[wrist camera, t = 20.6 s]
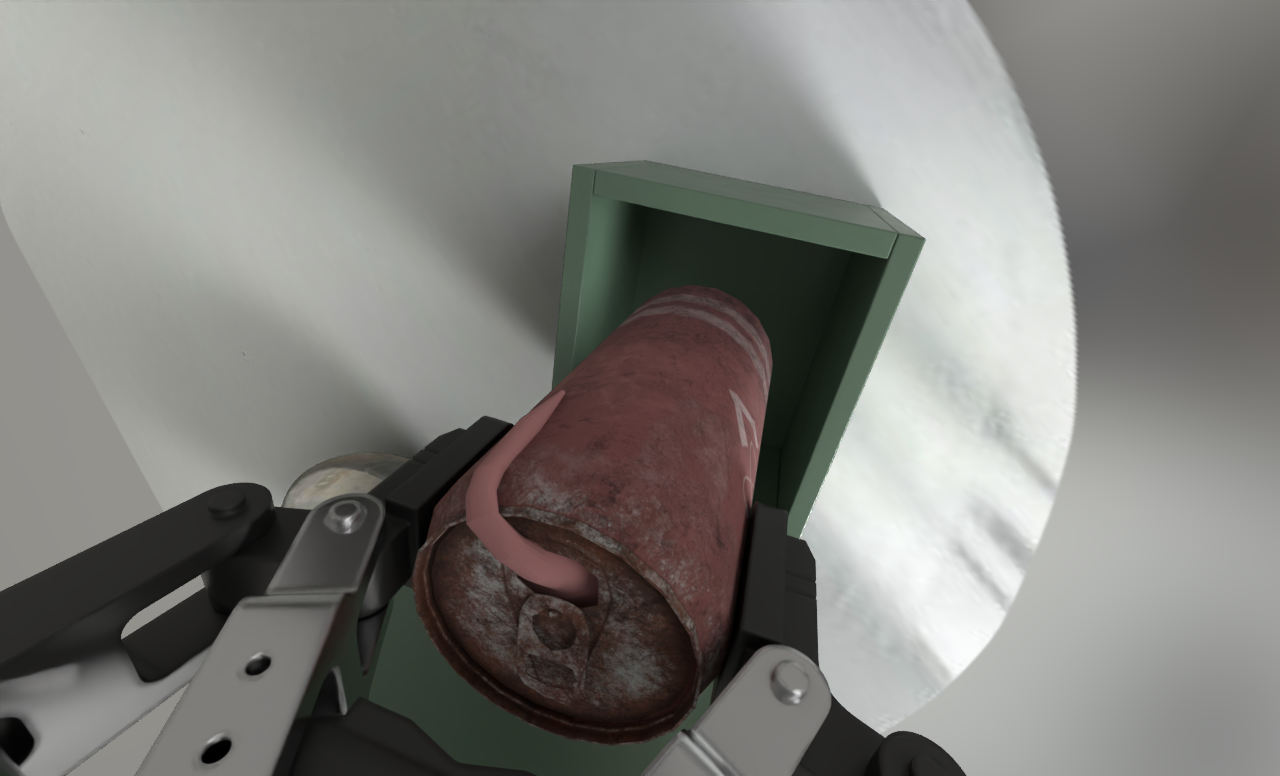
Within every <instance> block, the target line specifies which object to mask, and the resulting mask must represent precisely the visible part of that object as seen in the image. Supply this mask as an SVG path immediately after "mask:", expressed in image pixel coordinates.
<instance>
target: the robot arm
mask: <svg viewBox="0 0 1280 776" xmlns="http://www.w3.org/2000/svg"><path fill="white" fill-rule="evenodd" d="M513 427H514V425H513V424H511V423H508V422H505V421H501V420H498V419H495V418H492V417H489V416H483V417H481V418H480V419H479V420H478V421H476V422H475V423H474V424H473V425H472V426H470V427H469V428H468V429H467V430H464V429H461V428H459V429H456V430H454V431H451V432H448V433H446V434H443V435H441V436H439V437H438V438H436V439H435V440H434V441H433V442H431V443H430V444H429V445H427V446H426V447H425V449H424V450H421V451H420V452H419V453H417V454H416V455H415V456H414V457H413V459H412V460H408V461H407V462H406V463H405V464H403V465H402V466H401V467H400V468H398V469H397V470H396V471H395V472H393V473H392V474H391V475H390V476H388V477H387V478H386V479H384V480H383V481H382V482H381V483H379V484H378V485H377V486H376V487H374V488H373V489H372V490H371V491H369V492H368V493H367V494H363V493H349V494H343V495H339V496H335V497H332V498H330V499H328V500H325V501H324V502H322V503H320V504H319V505H317V506H316V507H315V508H314V509H313V510H310V509H297V508H284V507H274V504H273V500H272V496H271V493H270V491H269V490H268V489H267V488H265V487H264V486H262V485H259V484H255V483H233V484H228V485H223V486H219V487H216V488H213V489H211V490H208V491H206V492H204V493H202V494H200V495H198V496H196V497H194V498H192V499H190V500H187V501H185V502H183V503H181V504H179V505H177V506H175V507H173V508H171V509H169V510H167V511H165V512H163V513H161V514H159V515H157V516H155V517H153V518H151V519H148V520H146V521H144V522H143V523H140V524H138V525H136V526H134V527H132V528H130V529H128V530H126V531H124V532H122V533H120V534H118V535H116V536H114V537H112V538H110V539H107V540H106V541H103V542H101V543H99V544H97V545H96V546H93V547H91V548H89V549H87V550H85V551H83V552H81V553H79V554H77V555H75V556H73V557H71V558H68V559H66V560H65V561H63V562H60V563H58V564H56V565H54V566H52V567H50V568H48V569H46V570H44V571H42V572H40V573H38V574H36V575H34V576H32V577H30V578H27V579H25V580H23V581H21V582H19V583H17V584H15V585H13V586H11V587H9V588H7V589H5V590H3V591H1V592H0V776H66V775H67V774H68V773H70V772H71V771H72V770H74V769H75V768H76V767H78V766H79V765H80V764H82V763H83V762H84V761H86V760H87V759H88V758H90V757H91V756H92V755H94V754H95V753H96V752H98V751H99V750H100V749H102V748H103V747H104V746H106V745H107V744H108V743H110V742H111V741H112V740H114V739H115V738H116V737H117V736H119V735H120V734H122V733H123V732H124V731H125V730H127V729H128V728H130V727H131V726H132V725H134V724H135V723H136V722H138V721H139V720H140V719H142V718H143V717H144V716H146V715H147V714H148V713H149V712H151V711H152V710H153V709H155V708H156V707H158V706H159V705H160V704H161V703H163V702H164V701H165V700H167V699H168V698H170V697H171V696H172V695H174V694H175V693H176V692H177V691H179V690H180V689H181V688H183V687H184V686H185V685H187V684H188V683H189V682H190V683H189V685H188V687H187V688H186V690H185V692H184V693H183V695H182V697H181V698H180V700H179V702H178V703H177V705H176V707H175V708H174V710H173V712H172V713H171V715H170V717H169V718H168V720H167V722H166V724H165V725H164V727H163V728H162V730H161V732H160V734H159V735H158V737H157V739H156V740H155V742H154V744H153V745H152V747H151V749H150V750H149V752H148V754H147V755H146V757H145V759H144V760H143V762H142V764H141V765H140V767H139V769H138V770H137V772H136V774H135V775H134V776H537V775H535V774H532V773H530V772H528V771H524V770H516V769H507V768H498V767H490V766H481V765H472V764H464V763H460V762H457V761H455V760H454V759H453V758H452V757H451V756H449V755H448V754H447V753H446V752H445V751H444V750H443V749H442V748H441V747H440V746H439V745H438V744H437V743H436V742H435V741H434V740H433V739H432V738H430V737H429V736H428V735H427V734H426V733H425V732H424V731H423V730H422V729H421V728H420V727H419V726H418V725H417V724H416V723H415V722H414V721H413V720H411V719H409V718H407V717H405V716H403V715H400V714H398V713H396V712H394V711H391V710H389V709H387V708H385V707H382V706H380V705H378V704H376V703H373V702H371V701H369V700H368V699H369V692H370V687H371V683H372V680H373V676H374V673H375V669H376V666H377V662H378V659H379V655H380V652H381V648H382V645H383V641H384V638H385V634H386V631H387V627H388V624H389V620H390V617H391V613H392V610H393V605H394V599H393V596H394V595H395V594H396V593H397V592H398V591H399V590H400V589H401V587H402V586H403V585H405V586H407V587H410V588H412V589H413V587H412V581H411V579H412V575H413V571H414V567H415V563H416V558H417V554H418V550H419V549H420V548H421V547H422V546H423V545H424V544H425V543H426V539H427V535H428V531H429V527H430V523H431V519H432V515H433V511H434V507H435V506H436V505H437V504H438V502H439V501H440V500H441V499H442V498H443V497H444V496H445V494H446V493H447V492H448V491H449V490H450V489H451V487H452V486H453V485H454V484H455V483H456V482H457V481H458V480H459V479H460V478H461V477H462V476H463V475H464V474H465V473H466V472H467V471H468V470H469V469H470V468H471V467H472V466H473V465H474V464H475V463H476V462H477V461H479V460H480V459H481V458H482V457H483V456H484V455H485V454H486V453H487V452H488V451H489V450H490V449H491V448H492V447H493V446H494V445H495V444H496V443H497V442H498V441H499V440H500V439H502V438H503V437H504V436H505V435H506V434H507V433H508V432H509V431H510V430H511V429H512V428H513ZM787 525H788V512H787V511H785V510H781V509H778V508H775V507H772V506H769V505H766V504H762V503H759V502H755V504H754V507H753V509H752V512H751V515H750V518H749V525H748V532H747V538H746V545H745V551H744V558H743V565H742V571H741V578H740V585H739V591H738V598H737V605H736V611H735V618H734V625H733V631H732V636H731V640H730V644H729V648H728V652H727V655H726V658H725V661H724V664H723V667H722V670H721V672H720V673H719V674H718V675H717V677H716V678H715V679H714V683H713V689H712V695H711V701H710V707H709V708H708V709H707V710H706V712H705V713H704V714H703V715H702V716H701V718H700V719H699V720H698V721H697V722H696V723H695V725H694V726H693V727H692V728H691V729H689V730H688V731H687V730H686V729H682V730H681V731H679V732H678V733H677V734H676V735H675V736H674V737H673V738H672V739H671V740H670V741H669V742H668V744H667V745H666V746H665V747H664V748H663V749H662V751H661V752H660V753H659V754H658V755H657V756H656V758H655V759H654V760H653V761H652V762H651V763H650V764H649V766H648V767H647V768H646V769H645V770H644V771H643V773H642V774H641V775H640V776H966V775H965V773H964V772H963V770H962V769H961V767H959V765H958V764H957V763H956V762H955V760H954V759H953V758H952V757H951V756H950V755H949V754H948V753H947V752H946V751H945V750H943V749H942V748H941V747H940V746H938V745H937V744H936V743H934V742H933V741H931V740H929V739H928V738H926V737H924V736H922V735H919V734H916V733H913V732H908V731H898V732H894V733H891V734H890V735H888V736H887V737H886V738H884V737H883V736H882V735H880V734H879V733H877V732H876V731H874V730H873V729H872V728H870V727H869V726H867V725H866V724H865V723H863V722H862V721H860V720H859V719H857V718H856V717H855V716H853V715H852V714H851V713H850V712H848V711H847V710H846V709H845V708H844V707H843V706H842V705H841V704H840V703H839V702H838V701H837V700H836V699H835V698H834V696H833V695H832V694H831V692H830V688H829V685H828V682H827V680H826V678H825V677H824V675H823V673H822V672H821V670H820V668H819V662H818V633H817V600H816V583H815V581H816V564H815V559H814V557H813V555H812V553H811V551H810V549H809V547H808V545H807V543H806V541H804V540H801V539H798V538H795V537H792V536H789V535H787ZM199 575H201V577H202V579H203V582H204V585H205V587H204V588H203V589H201V590H200V591H198V592H196V593H195V594H193V595H192V596H190V597H189V598H187V599H185V600H184V601H182V602H181V603H179V604H177V605H176V606H174V607H173V608H171V609H169V610H168V611H166V612H165V613H163V614H161V615H160V616H158V617H157V618H155V619H154V620H152V621H150V622H149V623H147V624H146V625H144V626H142V627H141V628H139V629H138V630H136V631H134V632H133V633H131V634H130V635H128V636H127V637H125V638H123V639H121V634H122V631H123V628H124V627H125V625H126V624H127V623H128V622H129V620H130V619H131V618H132V617H133V616H135V615H136V614H137V613H138V612H140V611H141V610H143V609H144V608H146V607H148V606H149V605H151V604H153V603H154V602H156V601H158V600H159V599H161V598H163V597H164V596H166V595H167V594H169V593H171V592H173V591H174V590H175V589H177V588H179V587H181V586H182V585H184V584H186V583H187V582H189V581H191V580H192V579H194V578H196V577H197V576H199Z"/></svg>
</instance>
